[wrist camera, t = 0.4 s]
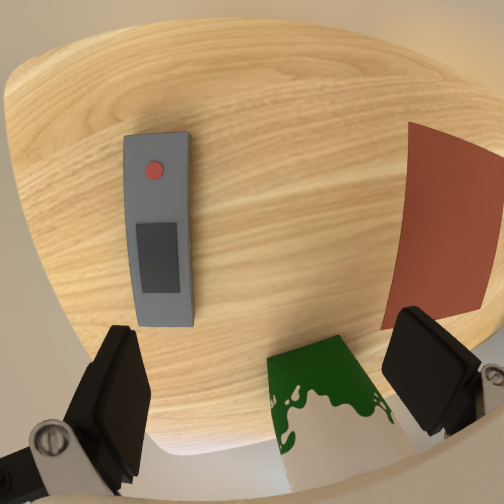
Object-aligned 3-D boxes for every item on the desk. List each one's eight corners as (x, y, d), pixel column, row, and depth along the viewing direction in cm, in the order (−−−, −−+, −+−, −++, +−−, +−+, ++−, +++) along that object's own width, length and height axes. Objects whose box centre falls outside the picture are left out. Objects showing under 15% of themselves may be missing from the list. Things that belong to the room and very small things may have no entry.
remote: (130, 137, 18) (122, 135, 16) (190, 134, 18) (188, 131, 16) (142, 315, 22) (137, 327, 20) (194, 315, 22) (193, 328, 20)
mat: (408, 121, 20) (408, 121, 20) (506, 159, 22) (506, 159, 22) (380, 329, 26) (380, 330, 26) (479, 308, 28) (480, 308, 28)
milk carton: (351, 383, 27) (433, 528, 8) (273, 410, 27) (319, 575, 8) (346, 323, 25) (473, 500, 6) (252, 354, 24) (307, 578, 5)
